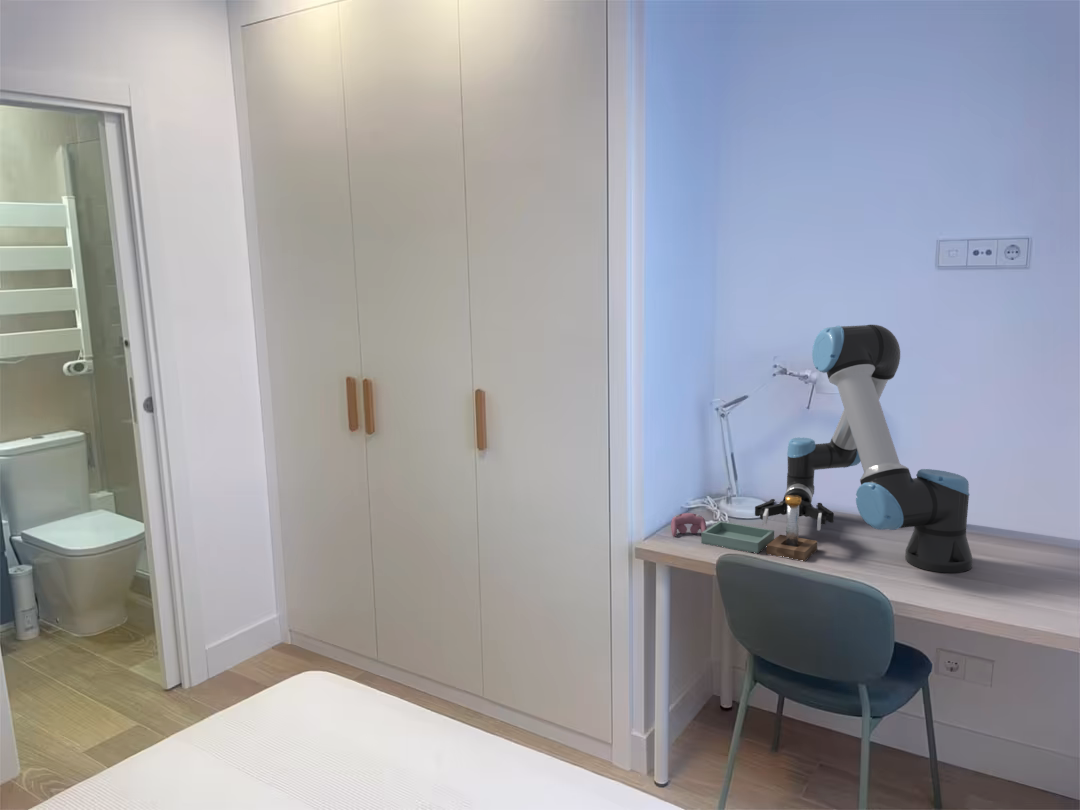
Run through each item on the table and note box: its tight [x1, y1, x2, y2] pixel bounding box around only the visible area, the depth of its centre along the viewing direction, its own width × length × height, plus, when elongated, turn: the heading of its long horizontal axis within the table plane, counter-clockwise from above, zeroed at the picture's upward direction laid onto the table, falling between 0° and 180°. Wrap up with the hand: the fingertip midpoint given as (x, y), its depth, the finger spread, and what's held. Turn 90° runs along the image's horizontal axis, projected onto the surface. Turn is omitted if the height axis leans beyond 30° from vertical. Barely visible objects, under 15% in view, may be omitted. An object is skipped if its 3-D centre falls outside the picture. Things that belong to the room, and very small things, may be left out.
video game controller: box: [670, 512, 708, 538], centre depth 232 cm, size 10×5×7 cm, turn 85°
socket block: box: [765, 534, 818, 562], centre depth 216 cm, size 10×10×2 cm
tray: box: [700, 520, 775, 554], centre depth 225 cm, size 16×12×3 cm
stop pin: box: [785, 495, 801, 547], centre depth 215 cm, size 4×4×15 cm
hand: (791, 522), depth 213 cm, fingers open, 13 cm apart
